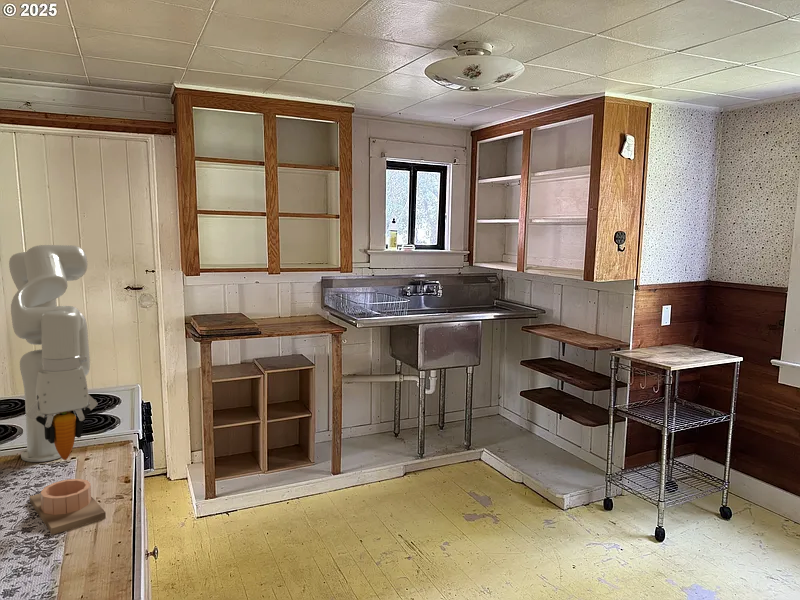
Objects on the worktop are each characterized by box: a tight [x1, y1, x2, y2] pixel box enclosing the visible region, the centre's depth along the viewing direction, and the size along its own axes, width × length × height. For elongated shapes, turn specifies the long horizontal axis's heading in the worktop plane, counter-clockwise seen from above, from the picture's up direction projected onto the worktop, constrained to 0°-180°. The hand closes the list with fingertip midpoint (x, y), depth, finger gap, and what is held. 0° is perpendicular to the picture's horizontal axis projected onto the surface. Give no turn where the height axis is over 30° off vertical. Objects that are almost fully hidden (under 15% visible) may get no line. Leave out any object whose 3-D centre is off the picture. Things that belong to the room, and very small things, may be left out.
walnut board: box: [29, 492, 106, 536], centre depth 133 cm, size 20×11×2 cm, turn 45°
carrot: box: [52, 411, 76, 461], centre depth 131 cm, size 5×5×15 cm
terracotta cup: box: [40, 478, 92, 515], centre depth 133 cm, size 10×10×4 cm
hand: (64, 438), depth 131 cm, fingers closed on carrot, 4 cm apart
